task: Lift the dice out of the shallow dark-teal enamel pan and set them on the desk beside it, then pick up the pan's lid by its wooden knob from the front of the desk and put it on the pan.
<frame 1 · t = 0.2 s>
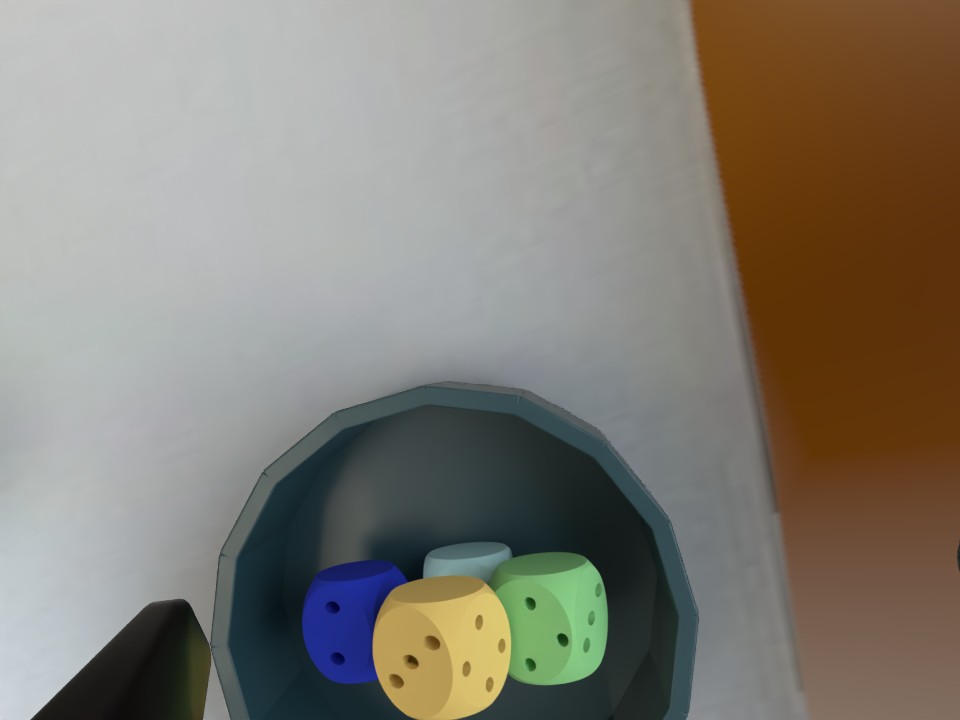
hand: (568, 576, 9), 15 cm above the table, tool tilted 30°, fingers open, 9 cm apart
pan: (467, 582, 24), on the table
dice: (466, 585, 24), resting in pan
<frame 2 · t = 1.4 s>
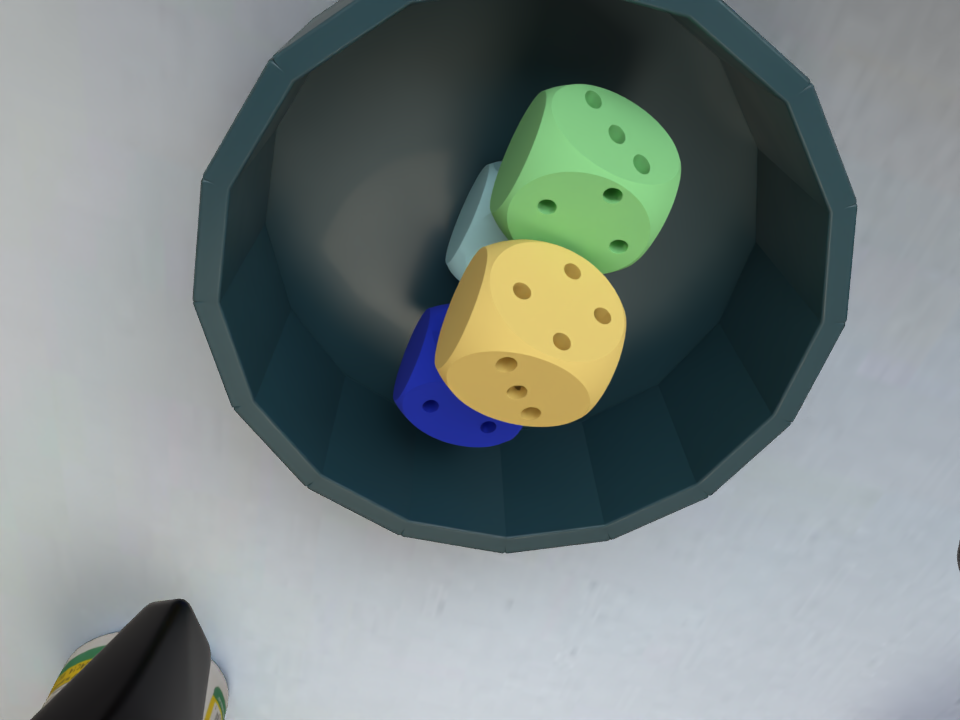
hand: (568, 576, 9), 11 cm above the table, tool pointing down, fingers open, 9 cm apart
supplement bottle: (151, 674, 27), on the table
pan: (512, 224, 19), on the table
dice: (512, 229, 19), resting in pan
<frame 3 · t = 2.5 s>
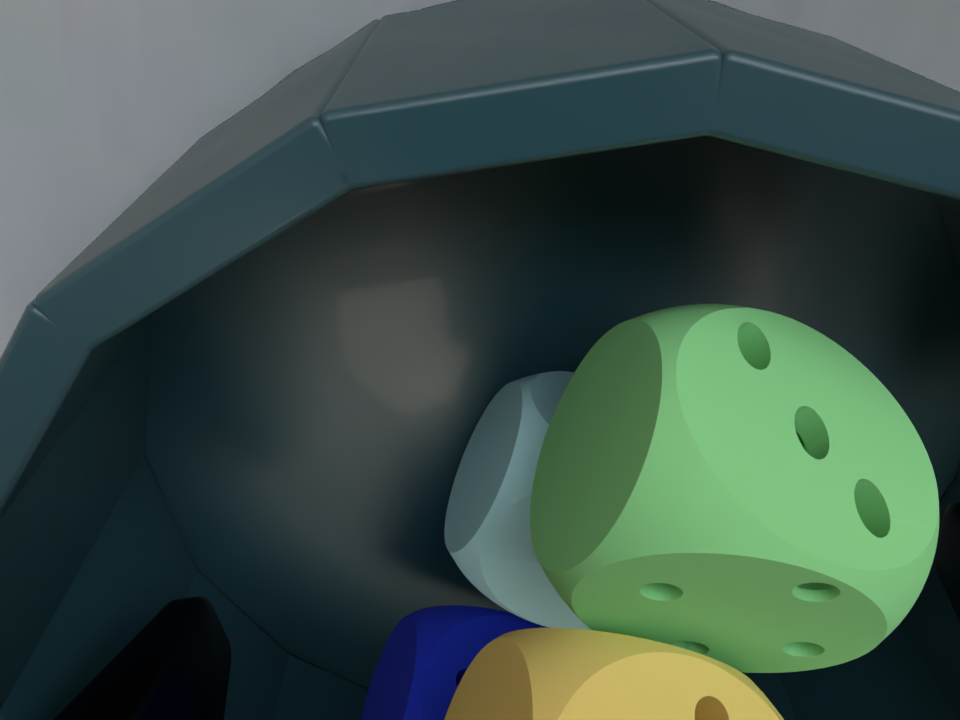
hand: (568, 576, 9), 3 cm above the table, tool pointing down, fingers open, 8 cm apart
pan: (553, 442, 12), on the table
dice: (555, 456, 11), resting in pan
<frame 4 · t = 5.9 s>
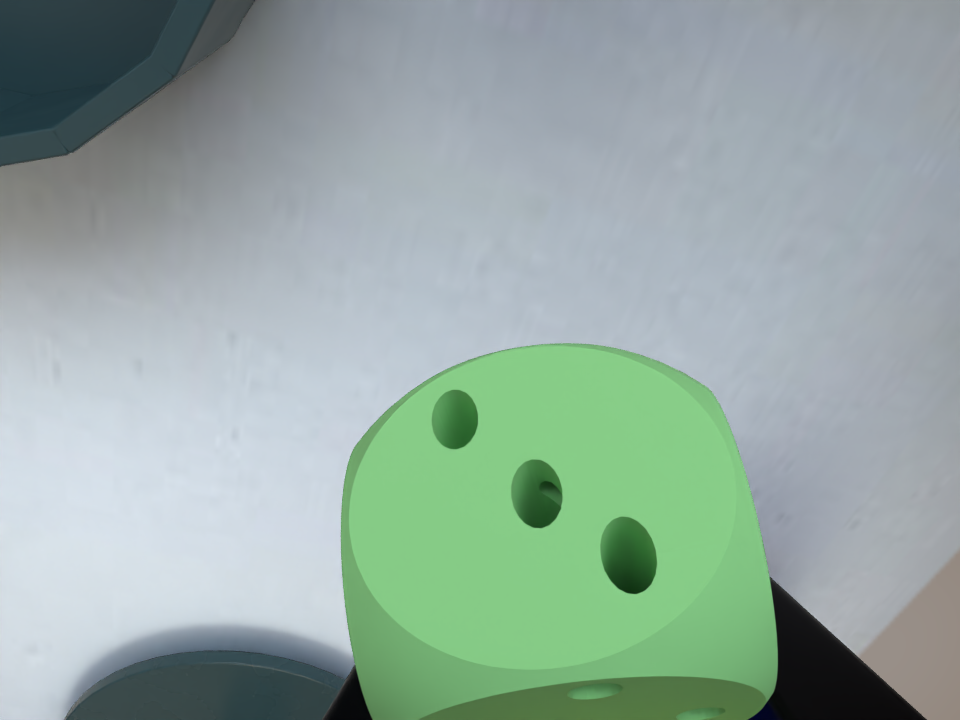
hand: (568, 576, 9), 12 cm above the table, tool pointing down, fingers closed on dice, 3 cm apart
dice: (557, 504, 10), point 10 cm above the table, touching gripper
when the fingers open (1 cm above the table, at t = 8.7 s): dice stays where it is, on the table.
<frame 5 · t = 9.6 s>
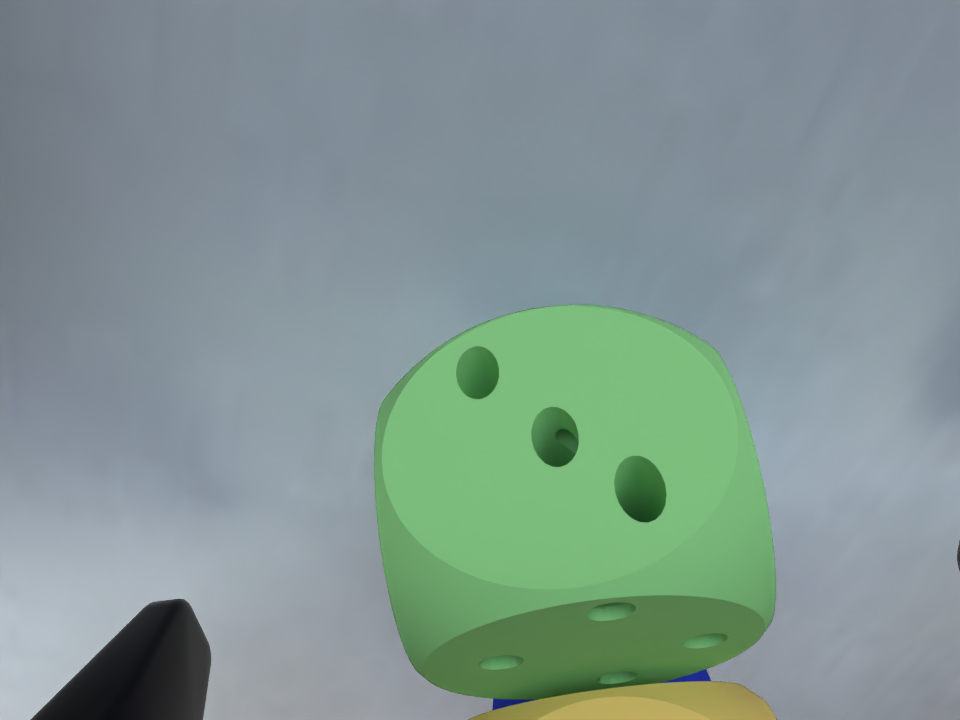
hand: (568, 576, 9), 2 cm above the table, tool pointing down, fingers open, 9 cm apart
dice: (563, 473, 11), on the table
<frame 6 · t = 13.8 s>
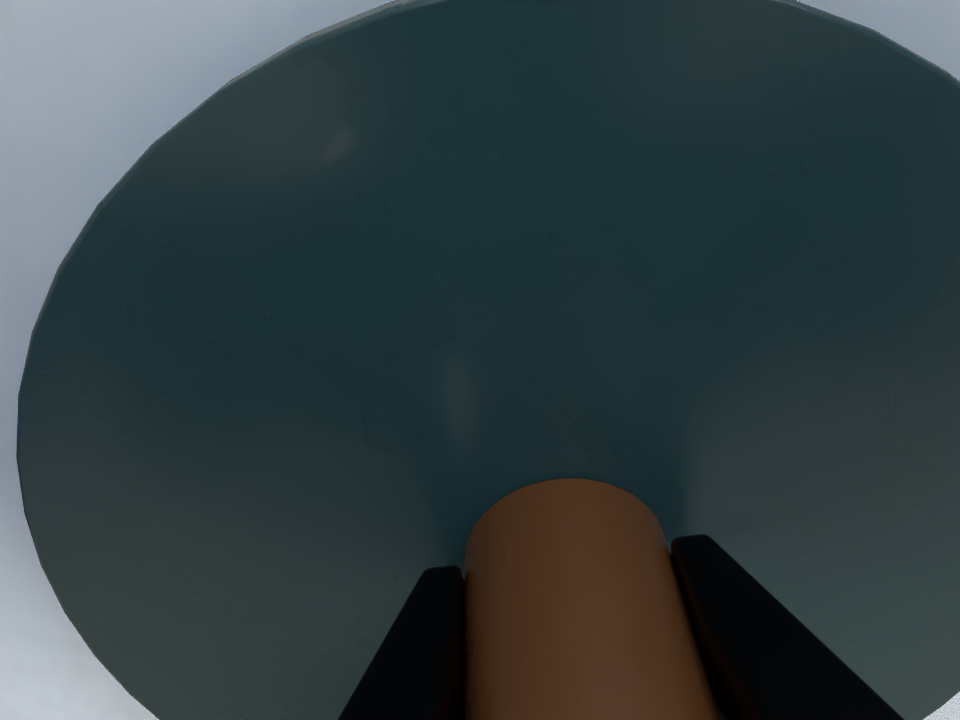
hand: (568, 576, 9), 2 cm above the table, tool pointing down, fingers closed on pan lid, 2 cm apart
pan lid: (559, 523, 10), point 1 cm above the table, touching gripper
when the fingers open (5 cm above the table, at t = 19.3 s): pan lid stays where it is, resting on pan.
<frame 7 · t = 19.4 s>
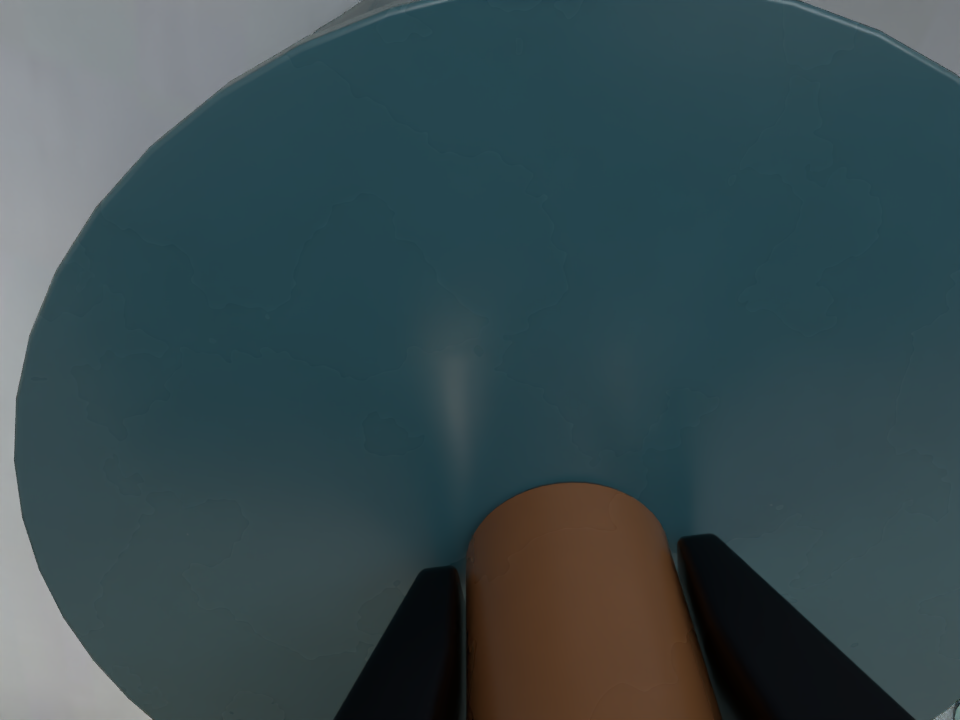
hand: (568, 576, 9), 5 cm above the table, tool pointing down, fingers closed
pan lid: (561, 527, 10), point 4 cm above the table, touching pan
pan: (531, 345, 14), on the table
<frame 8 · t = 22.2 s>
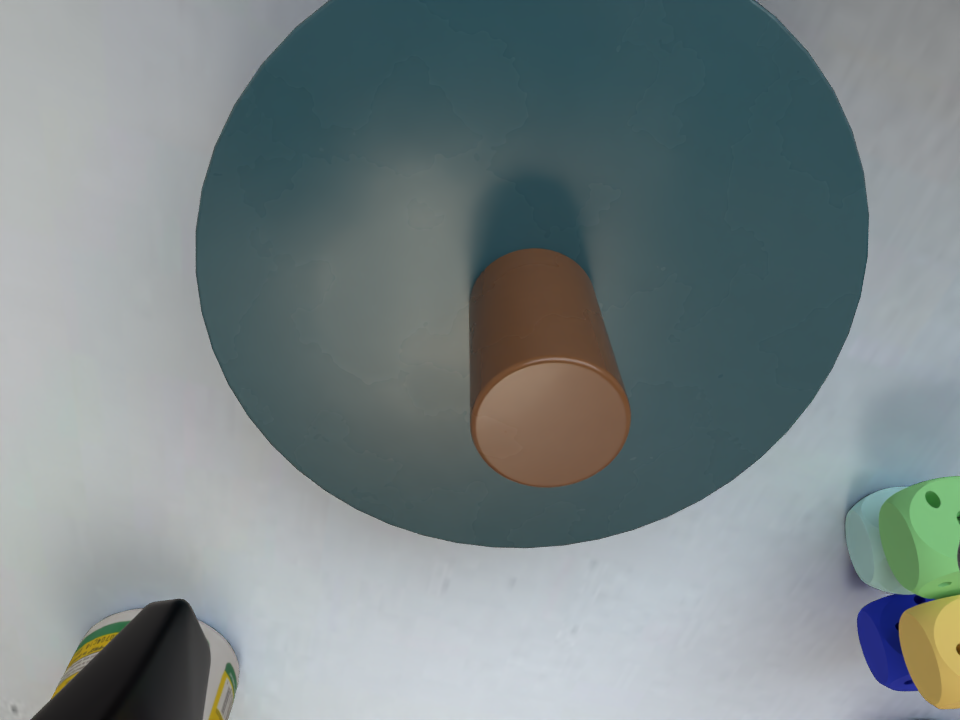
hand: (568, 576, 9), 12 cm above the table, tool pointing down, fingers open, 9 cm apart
supplement bottle: (164, 651, 28), on the table
pan lid: (530, 293, 16), point 4 cm above the table, touching pan
dice: (884, 519, 25), on the table
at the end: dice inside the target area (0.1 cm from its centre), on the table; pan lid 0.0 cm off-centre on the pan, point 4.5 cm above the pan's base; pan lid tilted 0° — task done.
